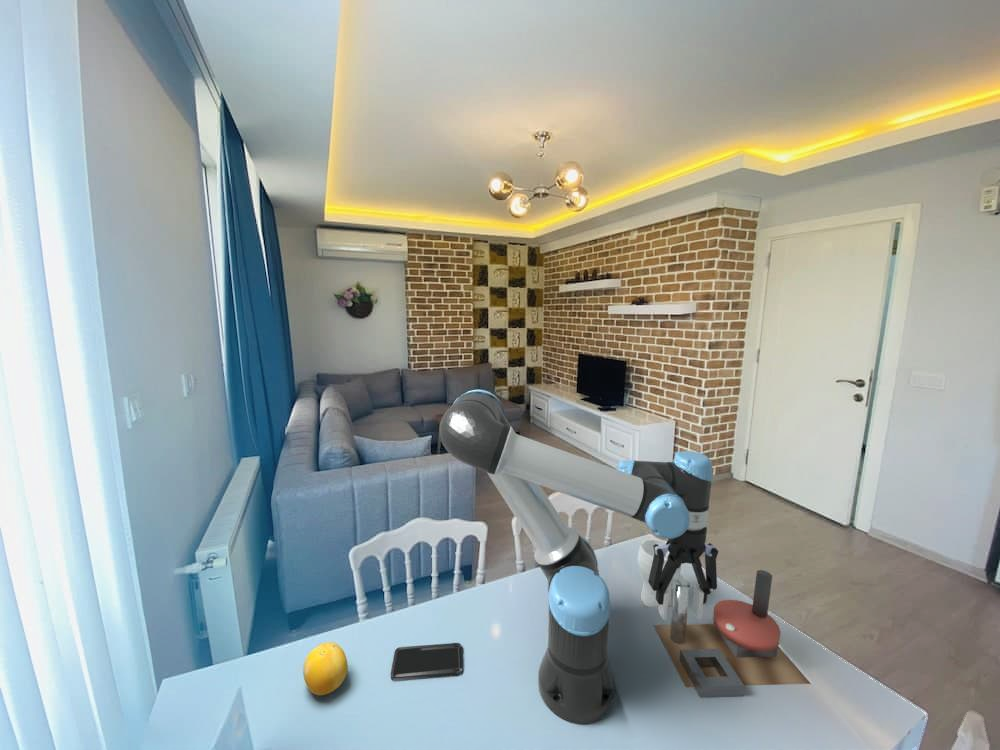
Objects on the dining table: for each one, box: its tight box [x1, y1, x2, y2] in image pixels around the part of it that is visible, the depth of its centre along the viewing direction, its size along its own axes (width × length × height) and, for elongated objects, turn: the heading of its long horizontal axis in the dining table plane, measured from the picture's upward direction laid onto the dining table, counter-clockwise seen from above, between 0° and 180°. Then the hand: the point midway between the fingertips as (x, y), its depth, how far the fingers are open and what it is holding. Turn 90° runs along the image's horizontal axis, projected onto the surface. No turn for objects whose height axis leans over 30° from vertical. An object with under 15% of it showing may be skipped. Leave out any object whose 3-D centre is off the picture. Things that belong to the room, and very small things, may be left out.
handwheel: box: [712, 569, 781, 652], centre depth 91 cm, size 13×13×12 cm
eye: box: [679, 649, 745, 698], centre depth 83 cm, size 9×9×2 cm
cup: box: [637, 538, 682, 608], centre depth 106 cm, size 11×11×15 cm
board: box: [653, 623, 811, 688], centre depth 90 cm, size 26×16×4 cm, turn 92°
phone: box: [390, 642, 463, 682], centre depth 88 cm, size 8×1×15 cm
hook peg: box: [670, 571, 691, 644], centre depth 93 cm, size 3×5×15 cm, turn 2°
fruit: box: [302, 641, 349, 696], centre depth 82 cm, size 9×8×8 cm
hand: (679, 614), depth 92 cm, fingers open, 7 cm apart
